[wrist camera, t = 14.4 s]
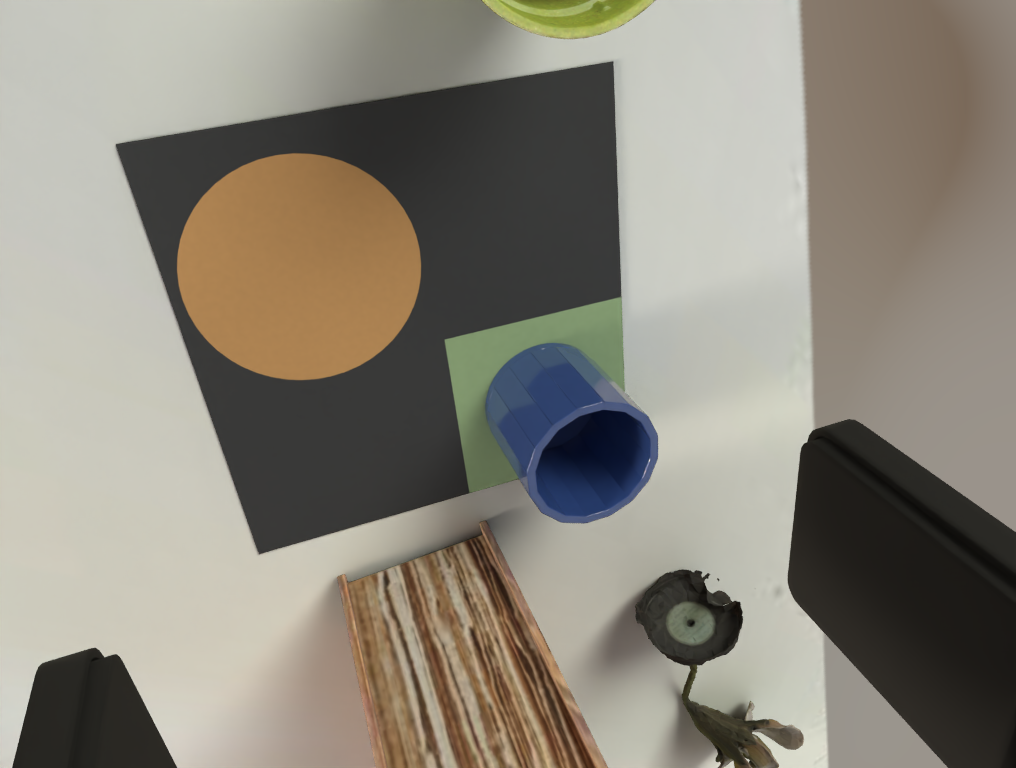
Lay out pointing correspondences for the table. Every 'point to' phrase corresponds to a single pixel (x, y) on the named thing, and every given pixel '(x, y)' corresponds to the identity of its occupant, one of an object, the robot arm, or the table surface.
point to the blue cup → (570, 433)
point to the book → (460, 667)
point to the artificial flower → (702, 637)
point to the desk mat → (383, 283)
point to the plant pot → (568, 15)
